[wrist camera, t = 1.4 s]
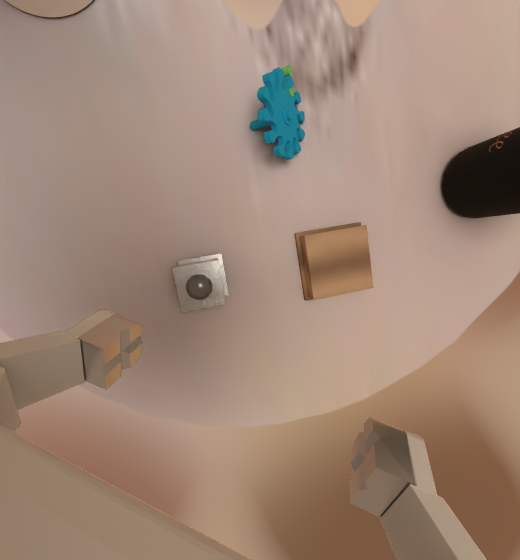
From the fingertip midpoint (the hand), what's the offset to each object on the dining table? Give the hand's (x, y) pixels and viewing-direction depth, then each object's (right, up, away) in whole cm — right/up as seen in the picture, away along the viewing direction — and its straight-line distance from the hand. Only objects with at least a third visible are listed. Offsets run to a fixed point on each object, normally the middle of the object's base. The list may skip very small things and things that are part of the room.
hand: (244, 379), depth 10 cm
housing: (-7, +4, +30) cm, 31 cm away
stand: (+11, +6, +33) cm, 35 cm away
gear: (+3, +25, +30) cm, 39 cm away
